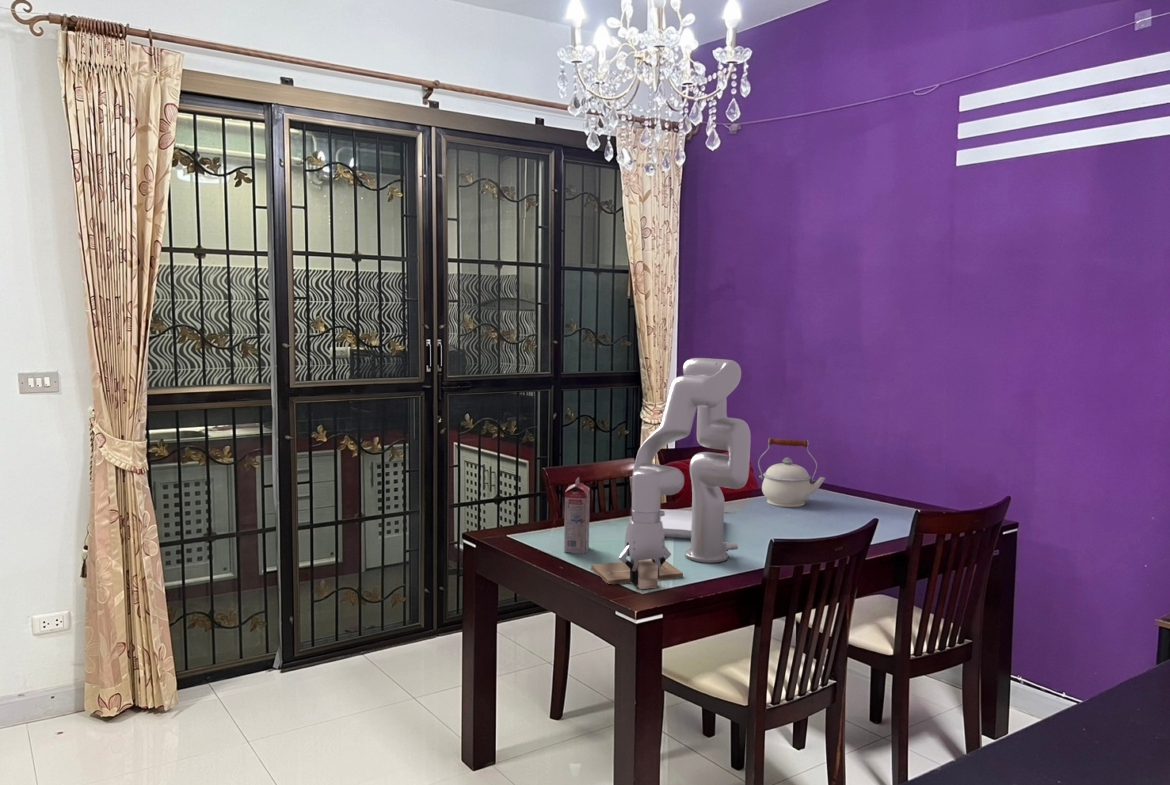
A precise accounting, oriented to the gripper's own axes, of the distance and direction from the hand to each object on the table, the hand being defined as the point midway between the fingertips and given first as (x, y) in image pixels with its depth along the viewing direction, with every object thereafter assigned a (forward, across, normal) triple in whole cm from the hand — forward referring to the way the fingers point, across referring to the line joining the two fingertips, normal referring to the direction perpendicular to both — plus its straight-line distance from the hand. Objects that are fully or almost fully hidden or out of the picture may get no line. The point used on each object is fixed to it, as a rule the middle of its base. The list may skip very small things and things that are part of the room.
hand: (644, 582), depth 223 cm
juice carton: (+1, +7, -36) cm, 37 cm away
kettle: (+1, -91, -71) cm, 116 cm away
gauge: (+1, 0, -3) cm, 3 cm away
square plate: (+2, -34, -49) cm, 60 cm away
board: (+1, -2, -10) cm, 11 cm away
